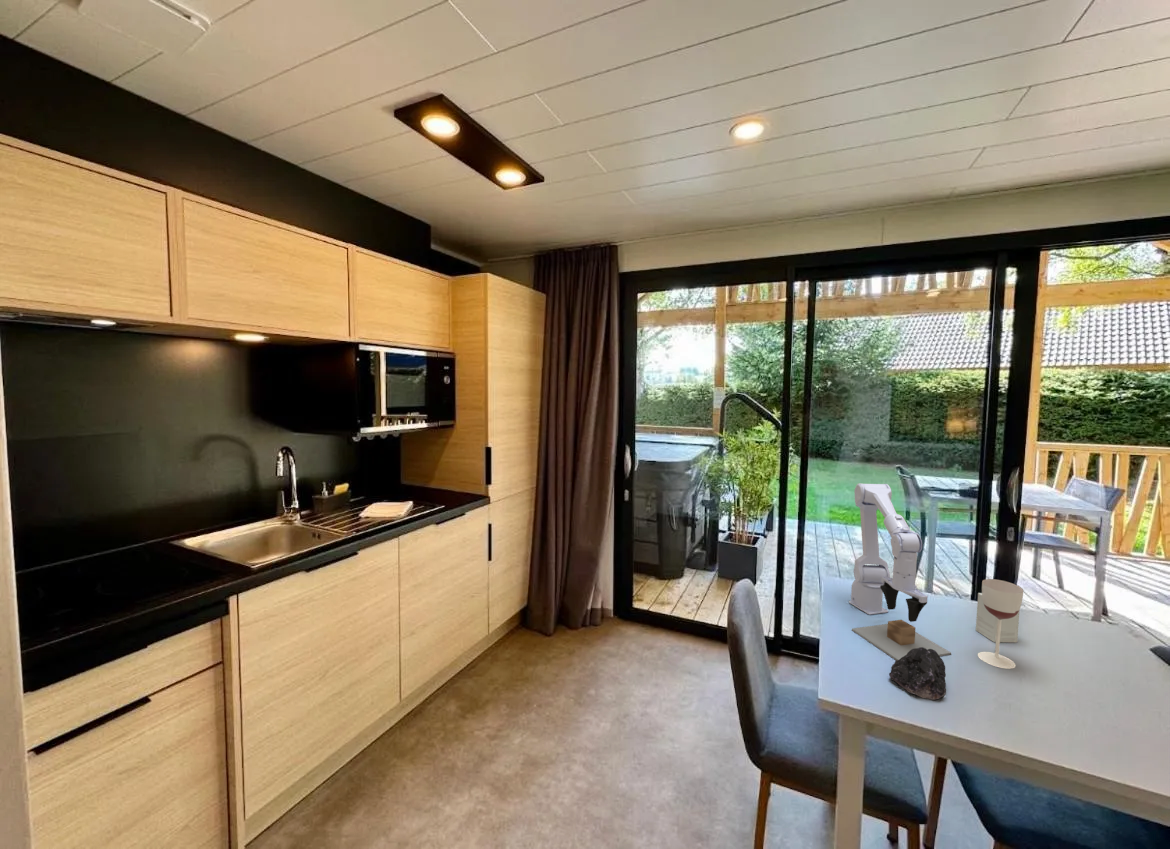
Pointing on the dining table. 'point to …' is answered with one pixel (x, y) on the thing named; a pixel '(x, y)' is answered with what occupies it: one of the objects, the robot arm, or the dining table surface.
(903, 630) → the walnut cube
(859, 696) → the dining table surface
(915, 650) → the dark grey rock
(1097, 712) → the dining table surface
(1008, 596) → the wineglass
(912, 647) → the grey mat
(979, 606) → the supplement box
